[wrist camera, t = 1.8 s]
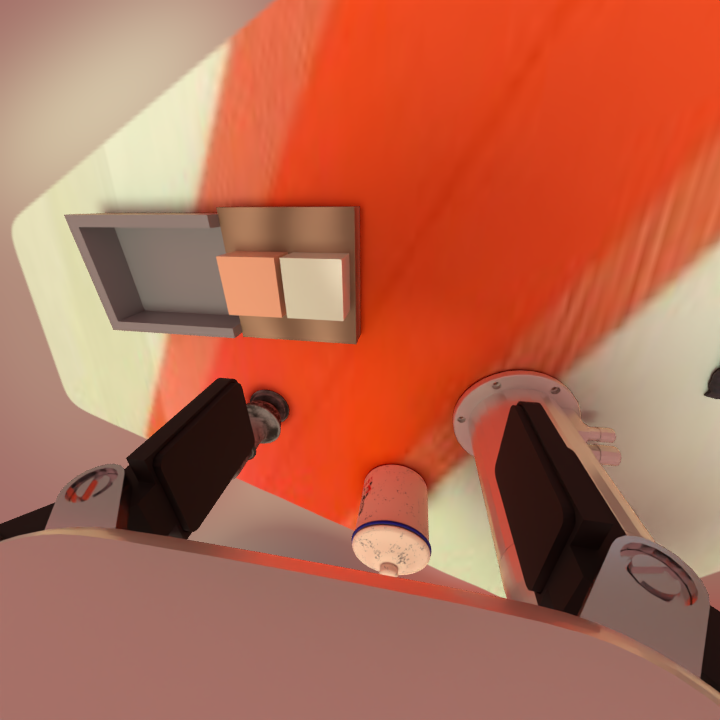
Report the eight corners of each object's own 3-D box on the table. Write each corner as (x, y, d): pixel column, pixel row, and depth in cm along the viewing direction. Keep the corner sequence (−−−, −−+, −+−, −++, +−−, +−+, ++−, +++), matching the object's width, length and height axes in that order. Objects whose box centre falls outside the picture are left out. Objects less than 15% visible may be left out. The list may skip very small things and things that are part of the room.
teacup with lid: (358, 460, 40) (339, 548, 30) (427, 462, 38) (431, 556, 28) (369, 517, 46) (356, 607, 35) (430, 521, 44) (434, 618, 33)
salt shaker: (241, 389, 38) (174, 461, 27) (283, 386, 36) (229, 460, 26) (257, 425, 40) (201, 503, 30) (296, 423, 39) (252, 505, 28)
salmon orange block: (287, 252, 26) (273, 257, 23) (294, 307, 28) (281, 317, 26) (235, 251, 27) (215, 256, 24) (245, 304, 29) (229, 314, 26)
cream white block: (349, 253, 25) (341, 259, 23) (350, 309, 28) (343, 321, 25) (293, 252, 26) (279, 257, 23) (299, 307, 28) (287, 318, 26)
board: (359, 206, 26) (354, 206, 23) (360, 334, 31) (356, 344, 29) (232, 207, 27) (216, 207, 25) (254, 327, 33) (243, 336, 31)
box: (233, 213, 28) (206, 214, 24) (253, 323, 33) (234, 337, 29) (105, 213, 30) (63, 214, 26) (143, 316, 35) (113, 329, 31)
